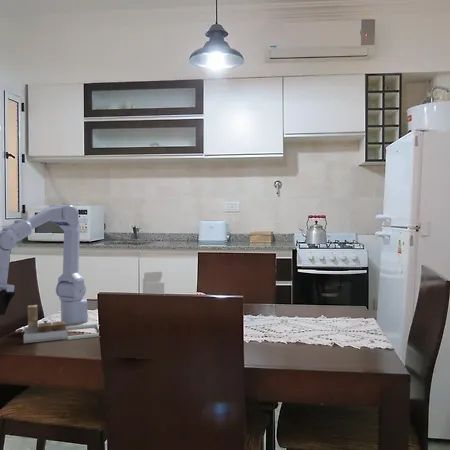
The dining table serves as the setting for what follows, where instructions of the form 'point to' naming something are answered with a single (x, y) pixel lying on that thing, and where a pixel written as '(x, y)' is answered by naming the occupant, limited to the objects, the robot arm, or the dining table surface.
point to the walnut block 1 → (44, 327)
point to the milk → (153, 283)
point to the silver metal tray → (42, 335)
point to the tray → (82, 335)
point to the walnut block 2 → (59, 326)
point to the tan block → (33, 316)
